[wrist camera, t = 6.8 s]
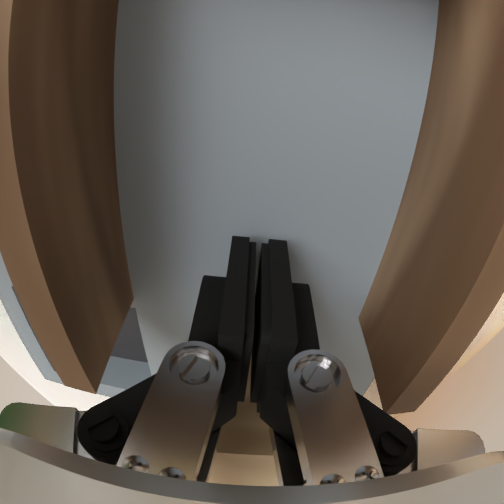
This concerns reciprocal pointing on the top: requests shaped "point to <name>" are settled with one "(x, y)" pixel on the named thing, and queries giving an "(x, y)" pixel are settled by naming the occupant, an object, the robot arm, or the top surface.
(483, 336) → the top surface
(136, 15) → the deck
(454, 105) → the brown wooden u-shaped frame
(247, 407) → the block
